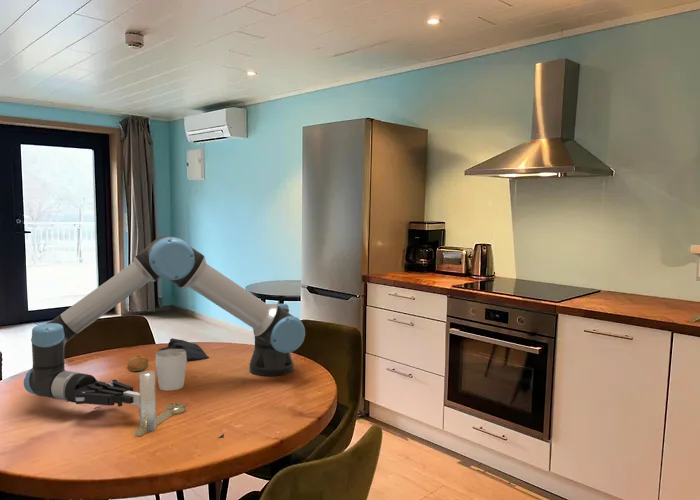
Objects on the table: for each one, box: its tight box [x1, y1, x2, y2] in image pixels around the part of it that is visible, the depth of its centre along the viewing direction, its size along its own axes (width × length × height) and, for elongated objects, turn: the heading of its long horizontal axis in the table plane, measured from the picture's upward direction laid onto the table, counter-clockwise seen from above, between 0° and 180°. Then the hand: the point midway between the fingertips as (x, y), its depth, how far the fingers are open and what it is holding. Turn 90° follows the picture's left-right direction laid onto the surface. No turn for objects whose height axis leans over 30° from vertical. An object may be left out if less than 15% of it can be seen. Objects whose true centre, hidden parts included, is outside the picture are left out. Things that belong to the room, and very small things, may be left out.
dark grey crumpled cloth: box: [158, 337, 210, 361], centre depth 197 cm, size 15×22×5 cm
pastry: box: [127, 354, 149, 372], centre depth 179 cm, size 9×7×4 cm
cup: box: [154, 349, 188, 392], centre depth 156 cm, size 9×9×12 cm
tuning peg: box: [134, 370, 186, 437], centre depth 131 cm, size 18×5×14 cm, turn 166°
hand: (146, 400), depth 128 cm, fingers closed
